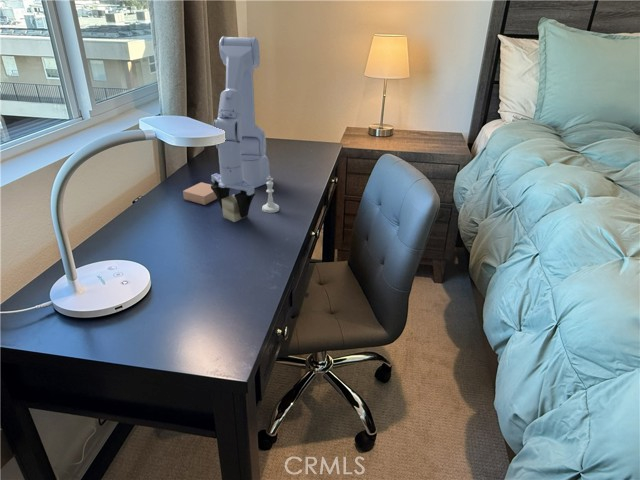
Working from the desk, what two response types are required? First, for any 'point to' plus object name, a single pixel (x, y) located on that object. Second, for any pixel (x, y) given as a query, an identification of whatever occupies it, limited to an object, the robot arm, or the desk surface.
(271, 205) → the chess piece
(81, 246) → the desk surface
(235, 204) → the metal block
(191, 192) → the block
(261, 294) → the desk surface
